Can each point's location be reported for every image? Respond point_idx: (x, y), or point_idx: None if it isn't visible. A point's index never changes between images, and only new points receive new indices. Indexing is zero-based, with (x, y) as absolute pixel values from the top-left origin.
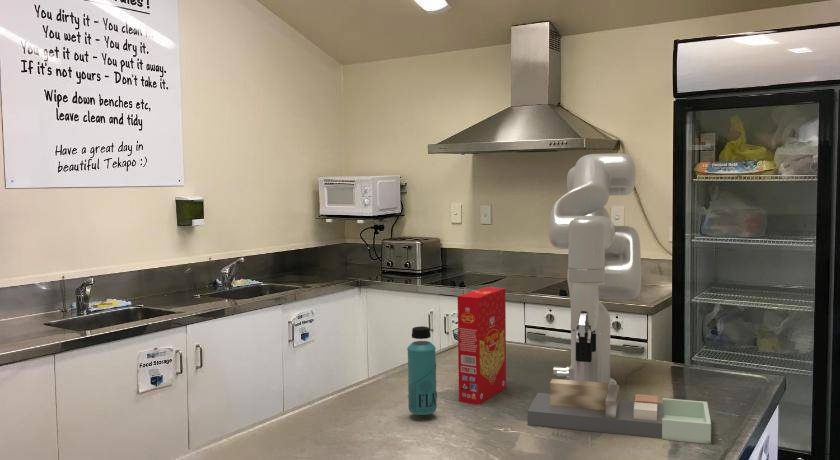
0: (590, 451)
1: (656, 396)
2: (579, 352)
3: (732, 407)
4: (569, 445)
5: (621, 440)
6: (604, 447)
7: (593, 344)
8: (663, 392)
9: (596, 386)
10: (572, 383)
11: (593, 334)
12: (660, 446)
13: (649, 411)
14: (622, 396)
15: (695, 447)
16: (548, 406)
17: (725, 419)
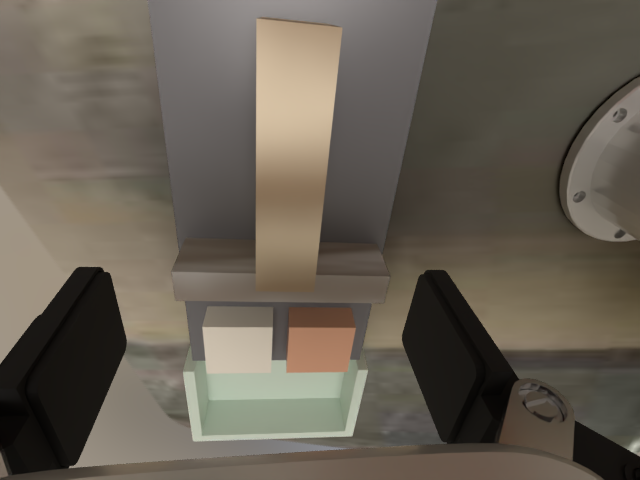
0: (4, 179)
1: (341, 370)
2: (17, 342)
3: (430, 428)
4: (14, 111)
5: (143, 254)
6: (63, 215)
7: (419, 368)
8: (541, 334)
9: (256, 254)
10: (274, 152)
11: (449, 438)
12: (144, 328)
13: (205, 357)
14: (520, 250)
15: (170, 380)
16: (241, 9)
17: (356, 419)
